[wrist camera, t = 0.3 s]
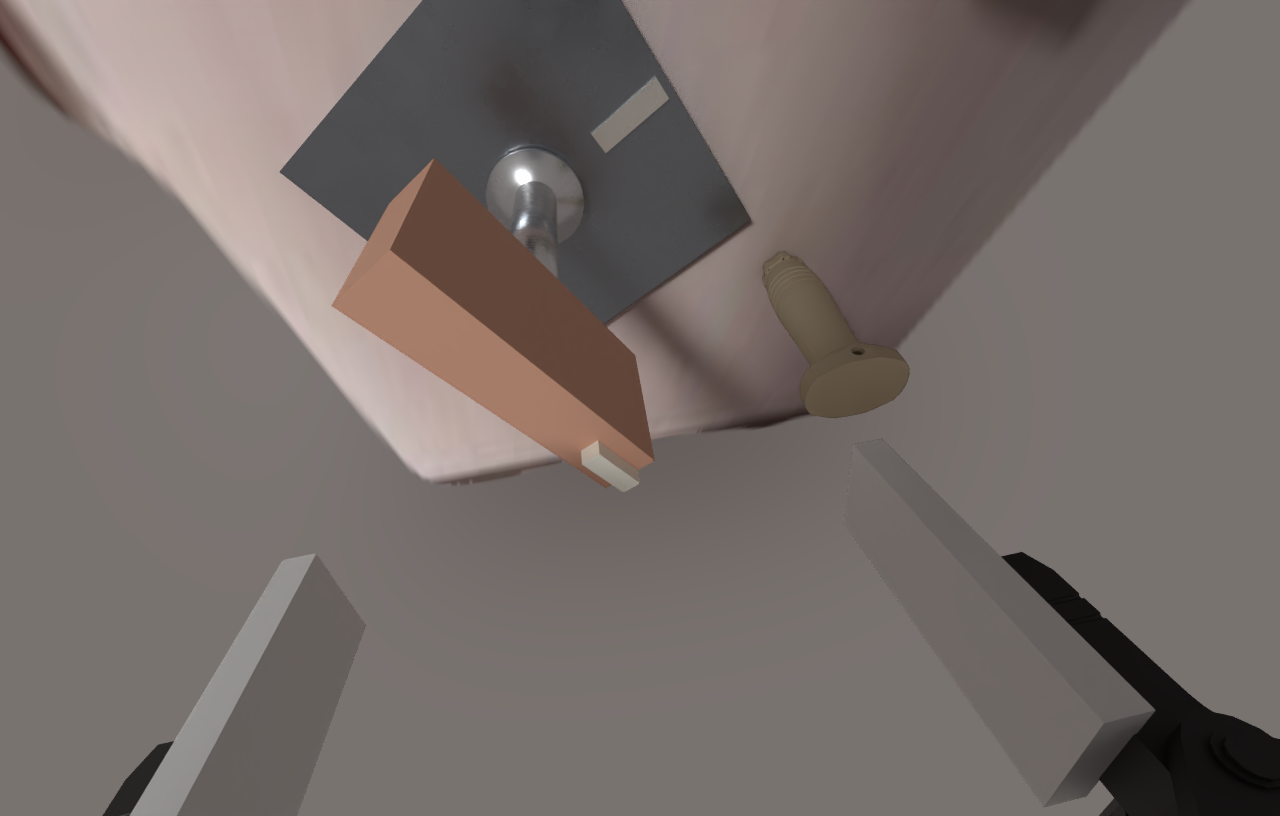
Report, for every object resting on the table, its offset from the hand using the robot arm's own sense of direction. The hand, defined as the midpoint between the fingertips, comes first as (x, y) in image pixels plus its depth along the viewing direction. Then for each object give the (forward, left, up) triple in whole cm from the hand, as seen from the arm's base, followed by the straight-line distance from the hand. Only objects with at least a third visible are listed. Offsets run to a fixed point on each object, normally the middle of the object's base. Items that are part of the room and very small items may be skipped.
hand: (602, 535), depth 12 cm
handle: (-7, +18, -29) cm, 35 cm away
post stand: (+4, +1, -29) cm, 29 cm away
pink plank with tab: (+4, +1, -16) cm, 16 cm away
